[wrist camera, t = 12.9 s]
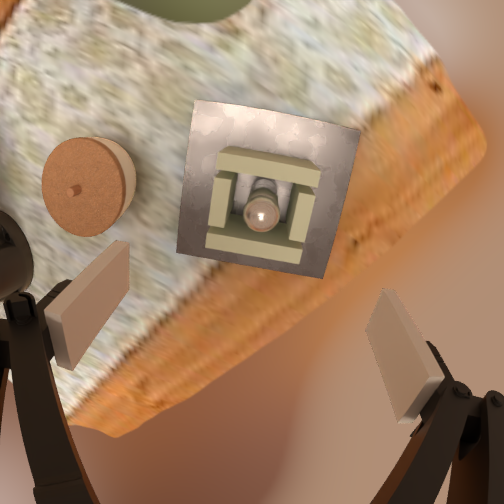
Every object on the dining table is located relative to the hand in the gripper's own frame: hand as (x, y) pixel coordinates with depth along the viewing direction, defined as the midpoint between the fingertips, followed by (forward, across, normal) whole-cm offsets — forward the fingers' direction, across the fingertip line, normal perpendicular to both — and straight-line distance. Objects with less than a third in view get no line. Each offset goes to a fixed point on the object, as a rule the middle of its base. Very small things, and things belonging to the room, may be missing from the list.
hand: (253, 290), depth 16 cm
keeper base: (+23, 0, 0) cm, 23 cm away
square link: (+21, 0, 0) cm, 21 cm away
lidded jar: (+23, -19, -1) cm, 30 cm away
